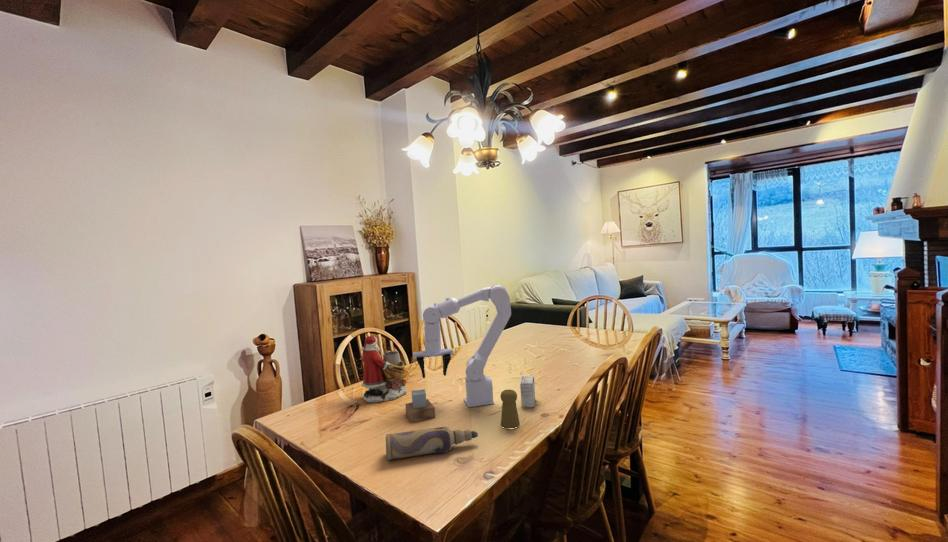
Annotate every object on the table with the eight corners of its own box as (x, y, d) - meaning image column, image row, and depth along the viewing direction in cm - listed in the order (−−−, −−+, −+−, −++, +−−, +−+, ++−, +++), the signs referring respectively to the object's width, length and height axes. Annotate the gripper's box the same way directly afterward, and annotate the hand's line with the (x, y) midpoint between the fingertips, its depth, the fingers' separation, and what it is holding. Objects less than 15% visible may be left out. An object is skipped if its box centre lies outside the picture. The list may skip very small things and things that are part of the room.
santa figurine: (409, 388, 162) (404, 328, 161) (404, 401, 148) (398, 336, 147) (368, 391, 162) (362, 331, 160) (359, 405, 148) (353, 339, 146)
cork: (521, 421, 125) (520, 388, 125) (517, 430, 120) (515, 395, 119) (503, 420, 127) (501, 386, 127) (498, 428, 122) (496, 393, 121)
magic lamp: (377, 381, 173) (375, 356, 173) (418, 378, 174) (417, 353, 174) (374, 386, 166) (372, 361, 166) (417, 383, 168) (415, 358, 167)
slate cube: (425, 401, 137) (424, 389, 137) (426, 406, 132) (425, 393, 132) (412, 403, 136) (411, 390, 136) (413, 408, 132) (412, 395, 131)
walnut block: (428, 410, 139) (427, 399, 139) (435, 418, 132) (434, 407, 132) (406, 415, 136) (405, 403, 136) (412, 424, 129) (411, 412, 129)
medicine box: (534, 408, 136) (533, 383, 135) (521, 407, 137) (520, 383, 136) (535, 399, 143) (534, 376, 143) (523, 399, 144) (521, 375, 144)
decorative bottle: (386, 466, 103) (384, 442, 103) (386, 452, 111) (385, 429, 111) (481, 451, 109) (480, 427, 108) (475, 439, 116) (474, 416, 116)
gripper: (413, 343, 137) (415, 381, 138) (454, 339, 141) (456, 377, 141) (411, 339, 144) (413, 375, 144) (450, 335, 147) (452, 371, 148)
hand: (434, 376), depth 143 cm, fingers open, 7 cm apart
